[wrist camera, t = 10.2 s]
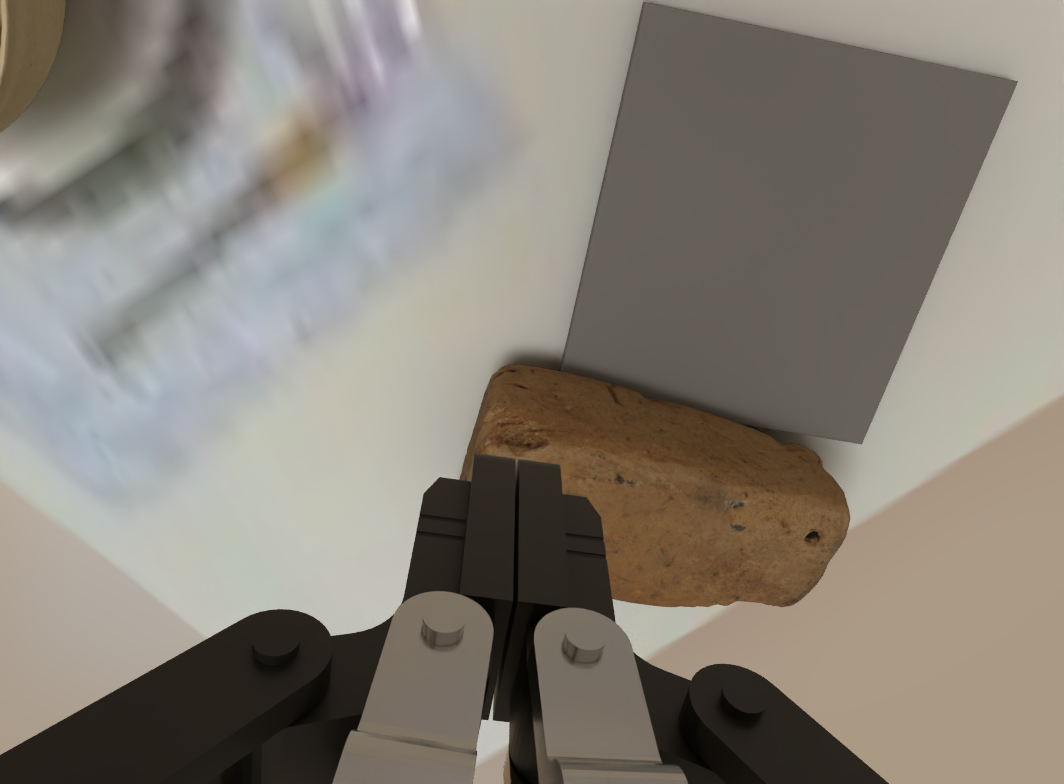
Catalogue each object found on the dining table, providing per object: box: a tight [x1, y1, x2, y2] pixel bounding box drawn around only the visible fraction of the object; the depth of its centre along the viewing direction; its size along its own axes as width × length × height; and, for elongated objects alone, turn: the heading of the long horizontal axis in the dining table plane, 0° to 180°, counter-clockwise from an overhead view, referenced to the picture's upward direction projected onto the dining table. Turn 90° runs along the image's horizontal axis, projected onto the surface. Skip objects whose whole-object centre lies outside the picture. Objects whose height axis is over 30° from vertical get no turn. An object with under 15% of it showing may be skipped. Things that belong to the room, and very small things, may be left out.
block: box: [459, 364, 850, 607], centre depth 44 cm, size 11×8×20 cm
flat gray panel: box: [560, 2, 1018, 444], centre depth 42 cm, size 20×18×1 cm
